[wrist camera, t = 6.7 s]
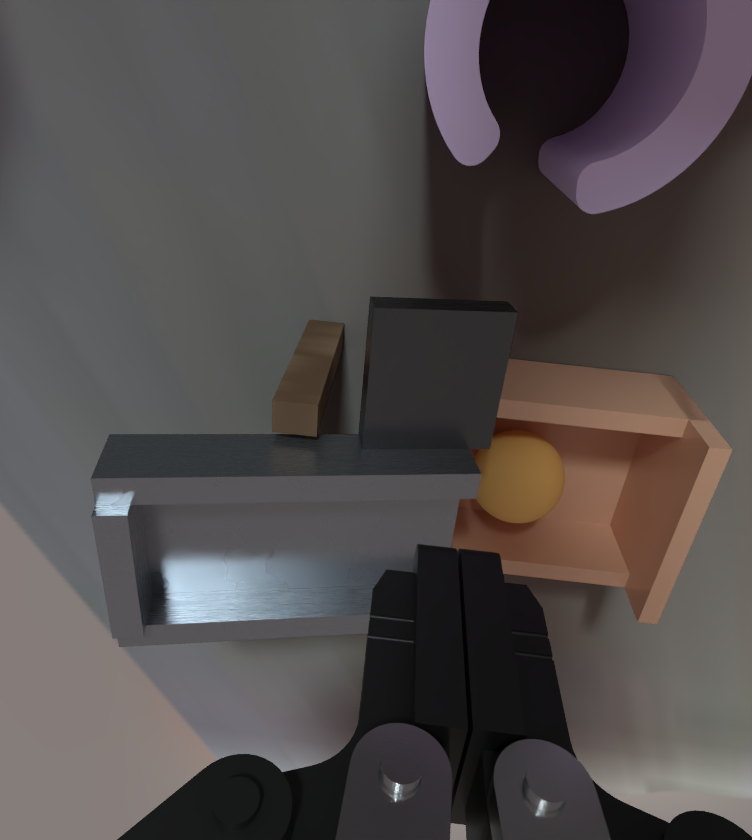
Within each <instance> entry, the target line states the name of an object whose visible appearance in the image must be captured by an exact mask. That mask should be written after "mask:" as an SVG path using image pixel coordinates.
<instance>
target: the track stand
mask: <svg viewBox="0 0 752 840" xmlns="http://www.w3.org/2000/svg"><path fill="white" fill-rule="evenodd" d="M343 334H344V323H334V322H325V321H315V320H309V322H308V324H307V326H306V329H305V331H304V333H303V335H302V337H301V339H300V342H299V344H298V346H297V348H296V350H295V352H294V355H293V357H292V359H291V361H290V363H289V365H288V368H287V370H286V372H285V374H284V376H283V378H282V381H281V383H280V385H279V387H278V389H277V391H276V394H275V396H274V398H273V400H272V432H278V433H287V434H296V435H305V436H314V437H317V434H318V430H319V427H320V424H321V420H322V417H323V414H324V410H325V407H326V403H327V400H328V397H329V393H330V390H331V387H332V383H333V380H334V376H335V373H336V370H337V366H338V363H339V360H340V356H341V353H342V349H343Z"/></svg>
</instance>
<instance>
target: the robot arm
mask: <svg viewBox="0 0 752 840" xmlns="http://www.w3.org/2000/svg"><path fill="white" fill-rule="evenodd" d="M450 823H455V824H464V825H466V838H467V840H752V837H751V836H750V835H749V834H748V833H746V832H745V831H744V830H743V829H741V828H740V827H738V826H737V825H736V824H734V823H733V822H731V821H729V820H727V819H725V818H723V817H721V816H718V815H716V814H713V813H709V812H705V811H688V812H684V813H682V814H679V815H678V816H676V817H675V818H674V819H673V820H672V821H671V822H670V823H668V822H666V821H664V820H662V819H659V818H657V817H655V816H653V815H650V814H648V813H646V812H643V811H642V810H639V809H637V808H635V807H633V806H630V805H628V804H626V803H624V802H622V801H620V800H618V799H616V798H614V797H613V796H611V795H610V794H608V793H607V792H605V791H604V790H603V789H602V788H601V787H599V786H598V785H597V784H596V783H595V782H594V781H593V780H592V779H591V777H590V775H589V774H588V772H587V771H586V769H585V768H584V767H583V765H582V764H581V763H580V762H579V761H578V760H577V758H576V756H575V753H574V751H573V749H572V745H571V742H570V737H569V733H568V728H567V723H566V718H565V713H564V709H563V704H562V699H561V694H560V689H559V685H558V680H557V675H556V670H555V665H554V661H552V651H551V646H550V641H549V639H548V632H547V627H546V622H545V617H544V613H543V608H542V607H541V605H540V604H539V603H538V601H537V600H536V598H535V597H534V595H533V594H532V592H531V591H530V590H529V588H528V587H527V585H520V584H512V583H504V576H503V570H502V563H501V557H500V554H499V553H495V552H486V551H478V550H469V549H460V548H459V549H458V552H457V549H456V548H449V547H441V546H432V545H423V544H417V546H416V551H415V558H414V564H413V570H412V572H405V571H396V570H387V569H386V571H385V572H384V574H383V575H382V577H381V578H380V579H379V581H378V582H377V584H376V585H375V587H374V588H373V591H372V600H371V609H370V618H369V626H368V635H367V644H366V653H365V663H364V673H363V682H362V692H361V701H360V711H359V720H358V726H357V728H356V731H355V733H354V735H353V737H352V738H351V740H350V741H349V743H348V744H347V745H346V746H345V747H344V748H343V749H342V750H341V751H340V752H339V753H338V754H336V755H335V756H333V757H332V758H330V759H328V760H326V761H324V762H322V763H319V764H316V765H312V766H308V767H304V768H299V769H295V770H290V771H286V772H281V770H280V769H279V768H278V767H277V766H275V765H274V764H273V763H272V762H270V761H268V760H267V759H265V758H262V757H259V756H256V755H250V754H237V755H231V756H227V757H224V758H221V759H219V760H217V761H215V762H213V763H211V764H210V765H209V766H207V767H206V768H204V769H203V770H202V771H201V772H199V773H198V774H197V775H196V776H194V777H193V778H192V779H191V780H190V781H188V782H187V783H186V784H185V785H183V786H182V787H181V788H180V789H179V790H177V791H176V792H175V793H174V794H172V795H171V796H170V797H169V798H168V799H166V800H165V801H164V802H163V803H161V804H160V805H159V806H158V807H157V808H155V809H154V810H153V811H152V812H150V813H149V814H148V815H147V816H146V817H145V818H143V819H142V820H141V821H139V822H138V823H137V824H136V825H135V826H133V827H132V828H131V829H130V830H128V831H127V832H126V833H125V834H124V835H122V836H121V837H120V838H119V839H117V840H450Z"/></svg>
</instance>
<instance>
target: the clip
mask: <svg viewBox="0 0 752 840" xmlns="http://www.w3.org/2000/svg"><path fill="white" fill-rule="evenodd" d="M623 1H624V4H625V7H626V10H627V15H628V22H629V46H628V53H627V58H626V62H625V65H624V69H623V71H622V74H621V77H620V79H619V81H618V83H617V85H616V87H615V89H614V91H613V92H612V94H611V96H610V97H609V98H608V100H607V101H606V102H605V104H604V105H603V106H602V107H601V108H600V110H599V111H598V112H597V113H596V114H595V115H593V116H592V117H591V118H590V119H589V120H588V121H586V122H585V123H584V124H582V125H581V126H579V127H578V128H576V129H574V130H572V131H570V132H568V133H566V134H563V135H560V136H557V137H553V138H550V139H548V140H547V141H546V142H544V143H543V145H542V146H541V148H540V151H539V161H538V166H539V169H540V171H541V173H542V174H543V175H544V176H545V177H546V178H547V179H549V180H550V181H551V182H552V183H553V184H554V185H555V186H556V187H557V188H558V189H559V190H561V191H562V192H563V193H564V194H565V195H566V196H567V197H568V198H569V199H570V200H571V201H573V202H574V203H575V204H576V205H577V206H578V207H579V208H580V209H581V210H583V211H584V212H586V213H589V214H599V213H603V212H607V211H611V210H614V209H617V208H620V207H623V206H626V205H628V204H631V203H633V202H636V201H638V200H640V199H642V198H644V197H646V196H648V195H650V194H651V193H653V192H655V191H656V190H658V189H660V188H661V187H663V186H664V185H666V184H667V183H669V182H670V181H672V180H673V179H674V178H675V177H677V176H678V175H679V174H680V173H682V172H683V171H684V170H685V169H686V168H687V167H689V166H690V165H691V164H692V163H693V162H694V161H695V160H696V159H697V158H698V157H699V156H700V155H701V154H702V153H703V152H704V151H705V150H706V149H707V147H708V146H709V145H710V144H711V143H712V142H713V140H714V139H715V138H716V137H717V135H718V134H719V133H720V131H721V130H722V129H723V127H724V126H725V125H726V123H727V121H728V120H729V118H730V117H731V115H732V114H733V112H734V110H735V109H736V107H737V105H738V103H739V101H740V100H741V98H742V96H743V94H744V92H745V89H746V87H747V85H748V83H749V81H750V78H751V76H752V0H623ZM488 3H489V0H431V1H430V6H429V11H428V16H427V23H426V31H425V45H424V63H425V76H426V84H427V90H428V95H429V99H430V103H431V107H432V111H433V114H434V117H435V120H436V123H437V125H438V127H439V130H440V132H441V134H442V136H443V138H444V140H445V142H446V144H447V146H448V148H449V149H450V151H451V152H452V154H453V155H454V157H455V158H456V160H457V161H458V162H460V163H461V164H464V165H467V166H474V165H477V164H480V163H481V162H483V161H484V160H485V159H486V158H487V157H488V156H489V155H490V154H491V153H492V152H493V151H494V149H495V148H496V147H497V144H498V142H499V138H500V129H499V125H498V123H497V121H496V120H495V118H494V116H493V114H492V113H491V110H490V108H489V106H488V103H487V101H486V98H485V95H484V92H483V88H482V83H481V78H480V70H479V42H480V34H481V28H482V23H483V19H484V16H485V12H486V9H487V6H488Z"/></svg>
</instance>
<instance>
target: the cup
mask: <svg viewBox="0 0 752 840" xmlns="http://www.w3.org/2000/svg"><path fill="white" fill-rule="evenodd" d="M510 430H523V431H529V432H532V433H535V434H537V435H539V436H541V437H543V438H544V439H546V440H547V441H548V442H549V443H550V444H551V445H552V446H553V447H554V448H555V449H556V451H557V452H558V454H559V455H560V458H561V460H562V462H563V466H564V470H565V485H564V490H563V493H562V495H561V497H560V499H559V501H558V503H557V504H556V506H555V507H554V508H553V509H552V510H551V511H550V512H549V513H547V514H546V515H545V516H543V517H541V518H539V519H537V520H535V521H532V522H527V523H510V522H505V521H502V520H500V519H497V518H495V517H494V516H492V515H490V514H489V513H488V512H487V511H485V510H484V509H483V508H482V506H481V505H480V504H479V503H478V501H477V500H476V499H460V501H459V506H458V512H457V517H456V522H455V527H454V533H453V538H452V543H451V548H456V549H457V552H458V549H459V548H460V549H469V550H478V551H486V552H495V553H499V554H500V557H501V563H502V570H503V574H510V575H519V576H528V577H537V578H545V579H554V580H563V581H572V582H581V583H590V584H598V585H607V586H616V587H625V590H626V593H627V595H628V598H629V601H630V603H631V606H632V608H633V611H634V614H635V616H636V619H637V621H638V622H641V623H650V624H657V623H658V621H659V619H660V616H661V614H662V612H663V609H664V607H665V605H666V602H667V600H668V598H669V595H670V593H671V591H672V589H673V586H674V584H675V582H676V579H677V577H678V575H679V572H680V570H681V568H682V565H683V563H684V561H685V559H686V556H687V554H688V552H689V549H690V547H691V545H692V542H693V540H694V538H695V535H696V533H697V531H698V529H699V526H700V524H701V522H702V519H703V517H704V515H705V512H706V510H707V508H708V505H709V503H710V501H711V499H712V496H713V494H714V492H715V489H716V487H717V485H718V482H719V480H720V478H721V475H722V473H723V471H724V469H725V466H726V464H727V462H728V459H729V457H730V455H731V452H732V449H731V447H730V446H729V445H728V444H727V442H726V441H725V440H724V439H723V437H722V436H721V435H720V434H719V432H718V431H717V430H716V429H715V427H714V426H713V425H712V424H711V422H710V421H709V420H708V419H707V417H706V416H705V415H704V414H703V412H702V411H701V410H700V409H699V407H698V406H697V405H696V404H695V402H694V401H693V400H692V399H691V397H690V396H689V395H688V394H687V392H686V391H685V390H684V389H683V387H682V386H681V385H680V384H679V382H678V381H677V380H676V379H675V377H674V376H667V375H657V374H648V373H639V372H629V371H620V370H611V369H601V368H592V367H583V366H573V365H564V364H555V363H545V362H536V361H526V360H517V359H509V360H508V364H507V369H506V374H505V379H504V384H503V388H502V393H501V398H500V403H499V408H498V413H497V417H496V422H495V427H494V432H493V436H494V435H496V434H498V433H501V432H504V431H510ZM469 450H470V452H471V454H472V456H473V458H474V456H475V454H476V452H477V450H478V449H469Z"/></svg>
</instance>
